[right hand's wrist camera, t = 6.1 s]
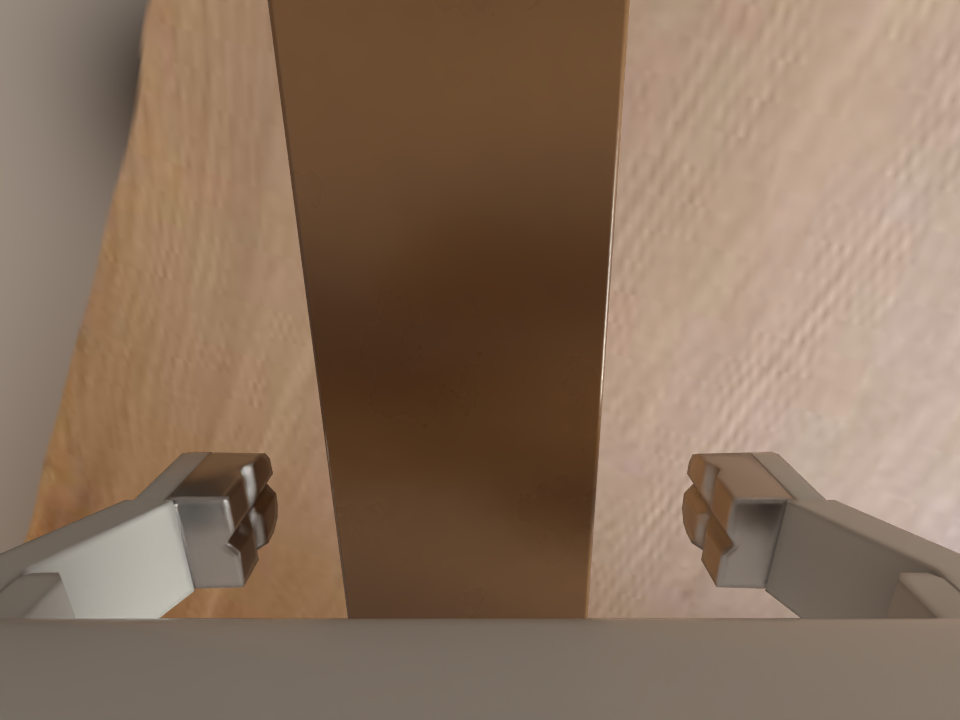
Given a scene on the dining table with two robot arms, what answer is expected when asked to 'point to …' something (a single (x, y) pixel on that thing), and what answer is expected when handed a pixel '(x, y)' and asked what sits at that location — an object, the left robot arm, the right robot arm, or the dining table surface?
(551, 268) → the bar
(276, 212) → the dining table surface
